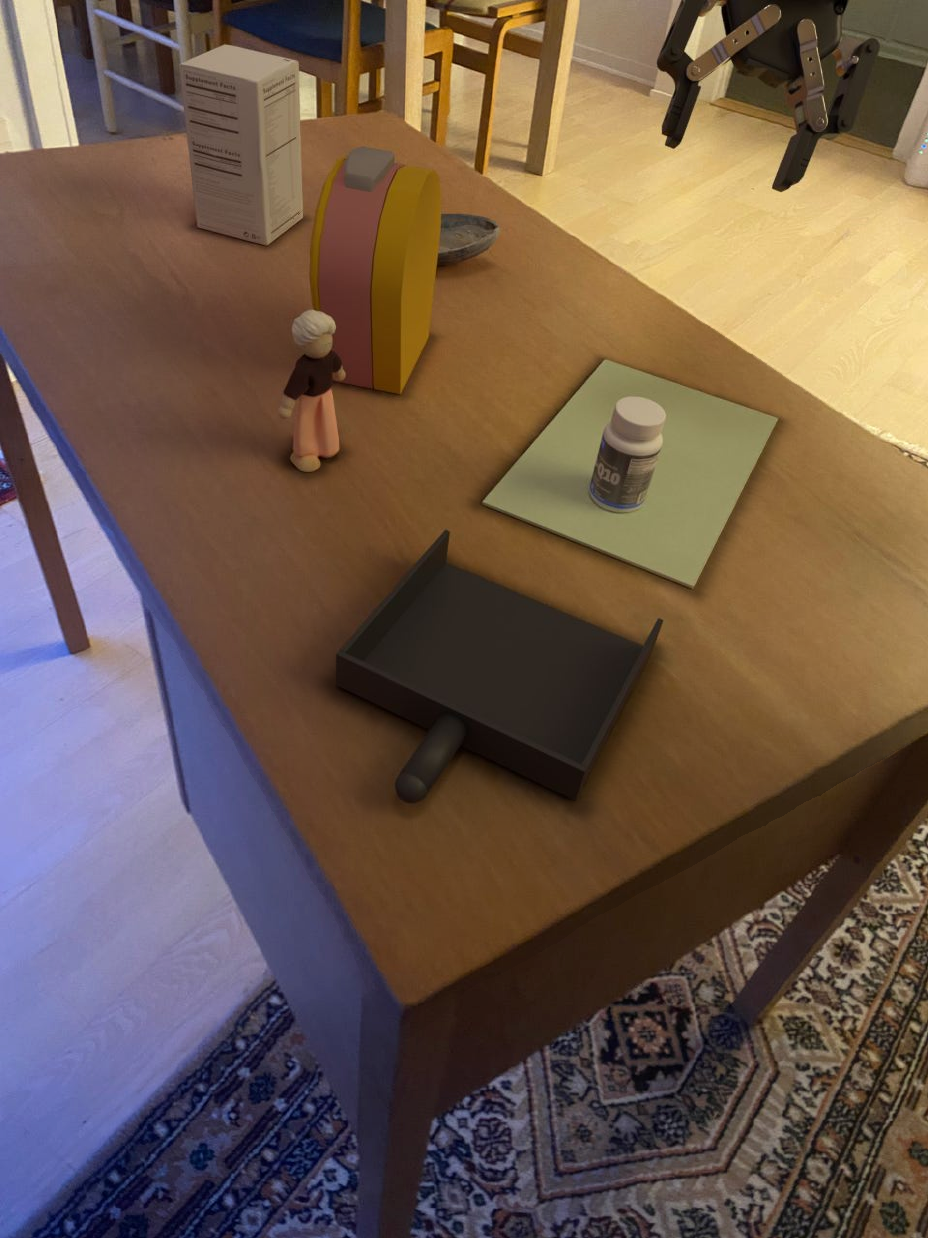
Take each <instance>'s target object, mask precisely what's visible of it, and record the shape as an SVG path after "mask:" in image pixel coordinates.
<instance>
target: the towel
mask: <svg viewBox="0 0 928 1238" xmlns="http://www.w3.org/2000/svg"><path fill="white" fill-rule="evenodd" d="M625 397H642V398H646V399H649V400H651V401H653V402H655V403H657V404H658V405H660V406H661V407H662V408H663V410H664V411H665V414H666V419H665V422H664V425H663V429H662V432H661V435H662V438H663V444H662V448H661V451H660V454H659V457H658V460H657V463H656V466H655V469H654V472H653V476H652V479H651V482H650V485H649V489H648V492H647V495H646V498H645V501H644V503H643V505H642V506H641V507H640V508H639V509H637V510H635V511H632V512H625V513H619V512H613V511H609V510H607V509H604V508H602V507H601V506H599V505H598V504H597V503H596V502H595V501H594V500H593V499H592V497H591V495H590V492H589V487H590V482H591V479H592V475H593V471H594V467H595V463H596V459H597V456H598V452H599V448H600V444H601V439H602V436H603V431H604V429H605V427H606V425H607V424H608V423H609V422H610V421H611V419H612V414H613V411H614V408H615V405H616V403H617V402H618V401H619V400H620V399H622V398H625ZM778 420H779V417H776V416H773V415H770V414H767V413H764V412H761V411H758V410H756V409H752V408H750V407H747V406H744V405H742V404H738V403H735V402H733V401H729V400H726V399H725V398H722V397H721V398H720V397H718V396H715V395H711V394H709V393H706V392H703V391H701V390H697V389H695V388H691V387H690V386H689V387H688V386H686V385H682V384H679V383H677V382H673V381H671V380H668V379H665V378H662V377H660V376H656V375H654V374H650V373H648V372H645V371H642V370H638V369H635V368H633V367H630V366H628V365H627V366H626V365H624V364H621V363H618V362H616V361H612V360H609V359H606V358H605V359H603V360H602V361H601V363H600V364H599V365H598V366H597V368H596V369H594V371H593V372H592V374H591V375H590V376H589V377H588V378H587V380H585V381H584V383H583V384H582V385H581V386H580V387H579V388H578V390H577V391H576V392H575V393H574V395H573V396H571V398H570V399H569V400H568V401H567V402H566V404H564V405H563V407H562V408H561V409H560V411H559V412H558V413H557V414H556V416H554V418H553V419H552V420H551V421H550V422H549V423H548V425H547V426H546V427H545V428H544V429H543V430H542V432H541V433H540V434H539V435H538V436H537V437H536V438H535V440H534V441H533V442H532V443H531V444H530V446H528V448H527V449H526V450H525V451H524V453H522V455H521V456H520V457H519V458H518V459H517V460H516V462H515V463H514V464H513V465H512V466H511V468H510V469H509V470H508V471H507V472H506V473H505V474H504V476H503V477H501V479H500V480H499V481H498V483H497V484H496V485H495V486H494V487H493V489H492V490H491V491H490V492H489V493H488V494H487V496H486V497H485V498H484V499H483V500H482V502H481V505H483V506H485V507H488V508H490V509H492V510H494V511H498V512H500V513H503V514H505V515H508V516H510V517H512V518H515V519H517V520H519V521H520V520H521V521H522V522H524V523H528V524H529V525H532V526H534V527H537V528H540V529H543V530H544V531H547V532H550V533H552V534H554V535H558V536H560V537H562V538H564V539H567V540H569V541H571V542H574V543H577V544H579V545H582V546H584V547H588V548H589V549H592V550H594V551H597V552H600V553H602V554H605V555H607V556H609V557H612V558H615V559H617V560H618V561H619V560H620V561H622V562H624V563H626V564H629V565H632V566H634V567H637V568H639V569H642V570H644V571H647V572H650V573H652V574H654V575H656V576H659V577H662V578H664V579H667V580H669V581H672V582H674V583H677V584H679V585H682V586H684V587H686V588H689V589H692V590H693V589H694V588H695V586H696V584H697V582H698V580H699V578H700V575H701V574H702V572H703V571H704V568H705V566H706V564H707V562H708V560H709V558H710V556H711V555H712V552H713V550H714V548H715V545H716V544H717V542H718V539H719V538H720V537H721V534H722V531H723V530H724V528H725V526H726V524H727V521H728V520H729V518H730V516H731V514H732V512H733V511H734V508H735V506H736V504H737V502H738V500H739V498H740V496H741V494H742V492H743V490H744V488H745V486H746V484H747V482H748V481H749V478H750V476H751V474H752V472H753V470H754V469H755V466H756V464H757V462H758V460H759V458H760V456H761V454H762V452H763V451H764V448H765V446H766V444H767V442H768V440H769V438H770V436H771V434H772V432H773V430H774V428H775V426H776V424H777V422H778Z"/></svg>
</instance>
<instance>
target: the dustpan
mask: <svg viewBox="0 0 928 1238" xmlns="http://www.w3.org/2000/svg"><path fill="white" fill-rule="evenodd" d="M450 534H451V531H450V530H448V529H444V530H443V532H442V533H441V534H440V535H439V536H438V537H437V538H436V539H435V541H434V542H433V543H432V544H431V545H430V546H429V547H428V549H427V550H425V552H424V553H423V554H422V556H420V557H419V559H418V560H417V561H416V562H415V563H414V564H413V566H412V567H411V568H410V569H409V570H408V571H407V572H406V574H404V576H403V577H402V578H401V579H400V580H399V582H398V583H396V585H395V586H394V587H393V588H392V589H391V590H390V592H389V593H388V594H387V595H386V597H385V598H383V600H382V601H381V602H380V603H379V605H378V606H377V607H376V608H375V609H374V610H373V611H372V612H371V613H370V615H368V617H367V618H366V619H365V620H364V621H363V623H362V624H361V625H360V626H359V627H358V628H357V629H356V631H354V633H353V634H352V635H351V636H350V637H349V638H348V640H347V641H346V642H345V643H344V644H343V645H342V646H341V648H340V649H339V650H338V651H337V652H336V654H335V686H337V687H340V688H342V689H344V690H346V691H348V692H349V693H352V694H354V695H357V697H360V698H362V699H364V700H366V701H368V702H370V703H372V704H374V705H377V706H378V707H381V708H383V709H386V710H387V711H388V712H391V713H393V714H395V715H398V716H399V717H401V718H403V719H405V720H407V721H409V722H412V723H413V724H416V725H418V726H420V727H422V728H424V729H426V730H427V731H428V732H427V733H426V735H425V736H424V738H423V739H422V740H421V742H420V744H419V745H418V746H417V747H416V749H415V750H414V751H413V753H412V754H411V756H410V758H409V759H408V760H407V762H406V763H405V764H404V766H403V768H402V769H401V770H400V772H399V773H398V774H397V777H396V778H395V781H394V791H395V793H396V796H397V798H399V799H400V800H401V801H402V802H404V803H406V804H412V805H413V804H417V803H420V802H422V801H423V800H424V799H425V798H426V797H427V796H428V795H429V793H430V792H431V790H432V789H433V787H434V786H435V784H436V782H437V781H438V780H439V778H440V776H441V775H442V774H443V772H444V771H445V769H446V768H447V766H448V764H449V763H450V761H451V760H452V759H453V757H454V756H455V754H456V752H457V751H458V750H459V748H460V747H463V748H465V749H468V750H470V751H472V752H474V753H475V754H478V755H480V756H482V757H484V758H486V759H488V760H490V761H492V762H494V763H496V764H499V765H500V766H503V767H505V768H507V769H508V770H511V771H513V772H515V773H517V774H519V775H521V776H523V777H525V778H528V779H529V780H532V781H534V782H536V783H538V784H540V785H542V786H544V787H546V788H548V789H550V790H553V791H555V792H556V793H559V794H560V795H563V796H565V797H567V798H569V799H570V800H573V801H576V800H577V799H578V798H579V796H580V794H581V792H582V790H583V788H584V786H585V784H586V782H587V780H588V778H589V776H590V774H591V772H592V770H593V768H594V767H595V764H596V763H597V760H598V758H599V756H600V754H601V753H602V751H603V749H604V747H605V745H606V743H607V742H608V739H609V737H610V735H611V733H612V732H613V729H614V727H615V725H616V724H617V722H618V720H619V718H620V715H621V714H622V712H623V710H624V708H625V706H626V704H627V702H628V700H629V698H630V696H631V695H632V692H633V691H634V688H635V686H636V684H637V682H638V680H639V678H640V677H641V675H642V672H643V671H644V669H645V667H646V665H647V663H648V661H649V659H650V657H651V655H652V653H653V651H654V648H655V645H656V642H657V639H658V638H659V634H660V631H661V630H662V626H663V623H664V621H665V620H664V619H663V618H660V617H657V619H656V621H655V623H654V625H653V627H652V629H651V631H650V633H649V634H648V636H647V638H646V640H645V642H644V644H640V643H637V642H636V641H633V640H630V639H628V638H626V637H623V636H621V635H618V634H616V633H614V632H611V631H609V630H607V629H605V628H602V627H600V626H598V625H595V624H592V623H591V622H588V621H586V620H584V619H581V618H579V617H577V616H575V615H572V614H570V613H567V612H565V611H562V610H560V609H558V608H555V607H554V606H551V605H548V604H546V603H544V602H541V601H539V600H537V599H534V598H532V597H529V596H527V595H525V594H522V593H520V592H518V591H515V590H513V589H510V588H508V587H506V586H503V585H501V584H499V583H497V582H495V581H492V580H490V579H488V578H485V577H482V576H480V575H478V574H475V573H473V572H471V571H468V570H466V569H464V568H461V567H459V566H457V565H454V564H452V563H450V562H448V561H447V560H448V551H449V543H450Z"/></svg>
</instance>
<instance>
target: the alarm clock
mask: <svg viewBox="0 0 928 1238" xmlns="http://www.w3.org/2000/svg"><path fill="white" fill-rule="evenodd" d="M441 188H442V187H441V180H440V178H439V176H438V173H437V171H436V170H435V169H430V168H425V167H419V166H414V165H408V164H403V163H397V162H395V153H394V152H393V151H390V150H385V149H380V148H374V147H369V146H357V147H355V148H354V149H352V150H350V151H349V153H348V154H347V155H344V156H341V157H339V158H337V159H336V160H335V163H334V164H333V166H332V167H331V170H330V171H329V173H328V175H327V176H326V178H325V181H324V182H323V184H322V188H321V192H320V195H319V197H318V202H317V205H316V208H315V212H314V219H313V226H312V232H311V237H310V238H311V239H310V246H309V270H308V271H309V273H308V278H309V287H310V298H311V305H312V308H313V309H312V310H315V311H320V312H323V313H325V314H326V315H328V316H330V317H331V318H332V319H333V320H334V322H335V325H336V329H335V333H334V334H332V341H333V343H332V348H331V350H332V351H334V352H336V353H337V354H338V356H339V357H340V358H341V361H342V366H343V370H344V371H345V374H346V375H345V378H344V380H342V381H336V380H335V379H334V378H333V374H332V382H337V383H341V384H347V385H351V386H357V387H360V388H361V387H362V388H367V389H372V390H373V389H374V390H377V391H381V392H386V393H392V394H397V395H402V392H403V390H404V389H405V387H406V384H407V383H408V380H409V378H410V376H411V374H412V372H413V370H414V369H415V366H416V365H417V362H418V360H419V358H420V356H421V354H422V352H423V350H424V348H425V346H426V344H427V342H428V339H429V337H430V330H431V321H432V311H433V302H434V294H435V293H434V292H435V285H436V284H435V283H436V277H437V276H436V275H437V267H438V264H437V258H438V249H439V240H440V231H441V214H442V203H443V200H442V189H441Z"/></svg>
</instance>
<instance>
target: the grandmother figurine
mask: <svg viewBox="0 0 928 1238" xmlns="http://www.w3.org/2000/svg"><path fill="white" fill-rule="evenodd" d="M335 329H336V325H335V322H334V320H333V319H332V318H331V317H330V316H328V315H326V314H325V313H323V312H320V311H315V310H314V309H308V310H306V311H304V312H302V313H301V314H300V315H299V316H298V317H296V318H295V319H294V321H293V323H292V325H291V334H292V335H293V341H294V343H295V344H296V345H298V346H299V349H300V351H301V352H302V353H303V354H302V355H301V356H299V358H298V359H297V360H296V361H295V364H294V365H295V366H294V368H293V370H292V372H291V374H290V375H289V378H288V381H287V383H286V385H285V387H284V389H283V395H282V398H281V401H280V403H281V404H280V407H279V408H278V410H277V413H278V416H279V417H280V418H281V419H283V420H287V419H289V418H291V417H292V412H293V408H294V407H295V405H296V402H297V401H298V402H299V403H298V404H297V408H296V412H295V416H294V421H293V428H292V431H293V437H292V439H293V443H292V444H293V445H292V450H293V452H292V453H291V455H290V458H289V460H290V462H291V463H292V464H293V465H294V466H295V467H296V468H297V470H299V471H301V472H304V473H312V472H315V471H316V470H319V469H320V467H321V461H320V459H319V458H324V459H328V458H329V459H330V458H333V457H334V456H335V455H337V454H338V452H339V451H340V437H339V431H338V430H339V429H338V422H337V417H336V411H335V410H336V409H335V402H334V394H333V391H332V387H333V381H332V374H333V378H334V379H335V380H336V381H342V380H344V378H345V375H346V374H345V371H344V370H343V366H342V361H341V358H340V357H339V356H338V354H337V353H336V352H334V351H332V350H331V348H332V343H333V341H332V334H334V333H335ZM336 381H335V382H336Z"/></svg>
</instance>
